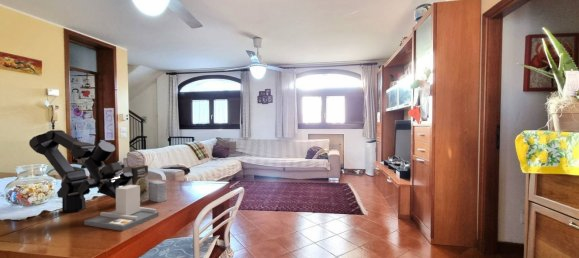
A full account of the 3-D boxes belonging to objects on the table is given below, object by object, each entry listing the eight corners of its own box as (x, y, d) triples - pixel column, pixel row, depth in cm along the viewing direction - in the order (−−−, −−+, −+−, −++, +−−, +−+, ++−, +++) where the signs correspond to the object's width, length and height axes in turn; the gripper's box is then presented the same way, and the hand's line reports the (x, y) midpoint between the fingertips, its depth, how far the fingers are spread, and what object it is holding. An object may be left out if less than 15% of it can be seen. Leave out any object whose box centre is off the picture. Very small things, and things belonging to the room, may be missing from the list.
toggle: (113, 214, 95) (113, 188, 95) (128, 209, 101) (128, 184, 101) (126, 216, 94) (126, 189, 94) (140, 211, 99) (140, 185, 99)
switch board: (84, 224, 90) (84, 217, 90) (123, 211, 104) (123, 204, 104) (123, 230, 85) (123, 222, 85) (158, 215, 99) (158, 209, 99)
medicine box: (166, 200, 120) (166, 182, 120) (157, 202, 116) (157, 184, 116) (157, 198, 124) (157, 180, 124) (148, 200, 121) (148, 181, 121)
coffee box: (133, 203, 115) (133, 168, 115) (121, 202, 116) (121, 167, 116) (148, 198, 124) (148, 165, 124) (137, 197, 125) (137, 164, 125)
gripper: (83, 158, 91) (106, 191, 88) (129, 153, 109) (150, 180, 106) (67, 178, 93) (90, 211, 90) (115, 170, 111) (135, 197, 108)
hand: (119, 198), depth 98 cm, fingers closed
